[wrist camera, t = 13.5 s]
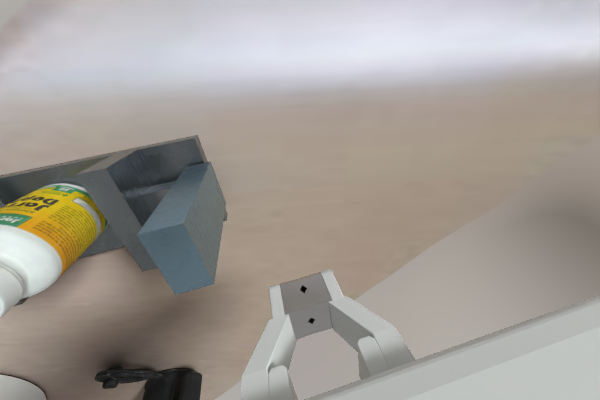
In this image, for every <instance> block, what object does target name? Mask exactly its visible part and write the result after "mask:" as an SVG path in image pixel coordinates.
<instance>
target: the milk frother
mask: <svg viewBox="0 0 600 400" xmlns="http://www.w3.org/2000/svg"><path fill="white" fill-rule="evenodd" d="M122 376H123V377H122ZM124 376H126V377H124ZM127 376H129V377H127ZM131 376H132V377H131ZM150 377H151V378H150ZM149 378H150V379H149ZM146 379H149V380H148V381H147V382H146V384H145V393H144V396H143V400H200V391H201V382H202V375H201V374H200V373H196V372H195V371H192V370H188V369H170V370H166V371H162V372H160V373H158V372H154V371H149V370H143V369H123V368H122V367H113V368H110V369H109V370H107V371H102V372H99V373H97V375H96V377H95V380H96V381H99V382H102V383H103V382H104V383H103V386H102V387H103V388H104V389H107V388H115V387H117V385H118V383H132V382H138V381H142V380H146Z"/></svg>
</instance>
